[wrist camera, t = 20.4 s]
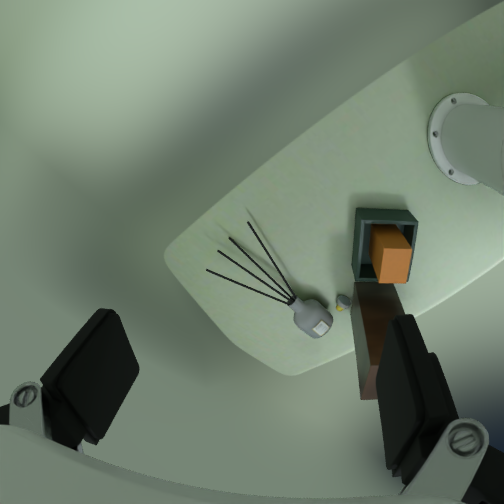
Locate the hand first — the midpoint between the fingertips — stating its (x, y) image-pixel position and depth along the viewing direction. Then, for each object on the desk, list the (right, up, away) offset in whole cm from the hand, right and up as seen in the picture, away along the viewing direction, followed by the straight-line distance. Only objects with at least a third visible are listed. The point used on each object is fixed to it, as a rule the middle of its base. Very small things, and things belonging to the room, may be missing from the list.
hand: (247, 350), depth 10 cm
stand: (+18, -4, +35) cm, 40 cm away
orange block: (+18, +5, +30) cm, 35 cm away
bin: (+18, +5, +31) cm, 36 cm away
